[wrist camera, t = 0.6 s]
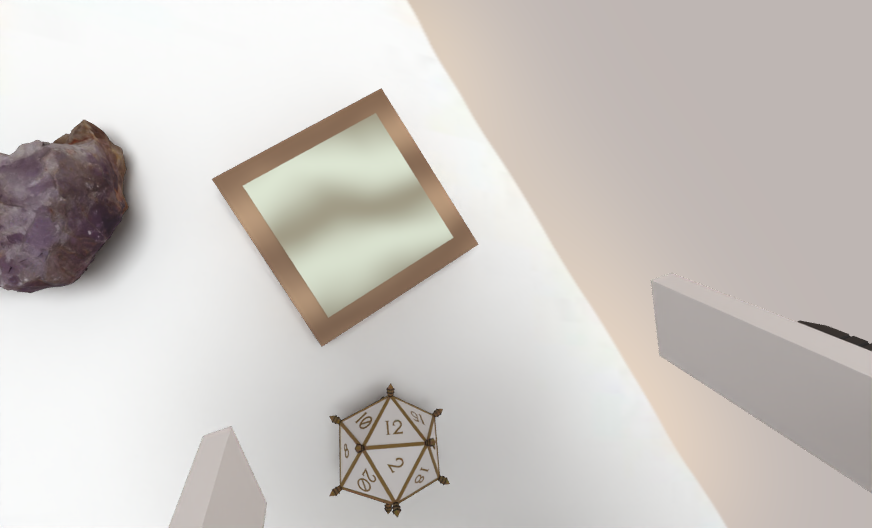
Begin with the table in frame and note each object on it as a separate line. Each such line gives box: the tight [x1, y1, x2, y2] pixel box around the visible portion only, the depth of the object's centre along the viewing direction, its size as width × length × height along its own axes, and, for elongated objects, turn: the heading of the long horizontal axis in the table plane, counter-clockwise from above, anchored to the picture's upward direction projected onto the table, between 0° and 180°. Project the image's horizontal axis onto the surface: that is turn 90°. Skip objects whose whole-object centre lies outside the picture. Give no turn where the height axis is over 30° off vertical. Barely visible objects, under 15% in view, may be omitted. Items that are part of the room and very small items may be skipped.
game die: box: [329, 383, 450, 517], centre depth 35 cm, size 9×8×10 cm
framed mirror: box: [212, 88, 478, 346], centre depth 37 cm, size 14×14×4 cm
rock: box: [0, 120, 128, 293], centre depth 31 cm, size 12×9×10 cm
